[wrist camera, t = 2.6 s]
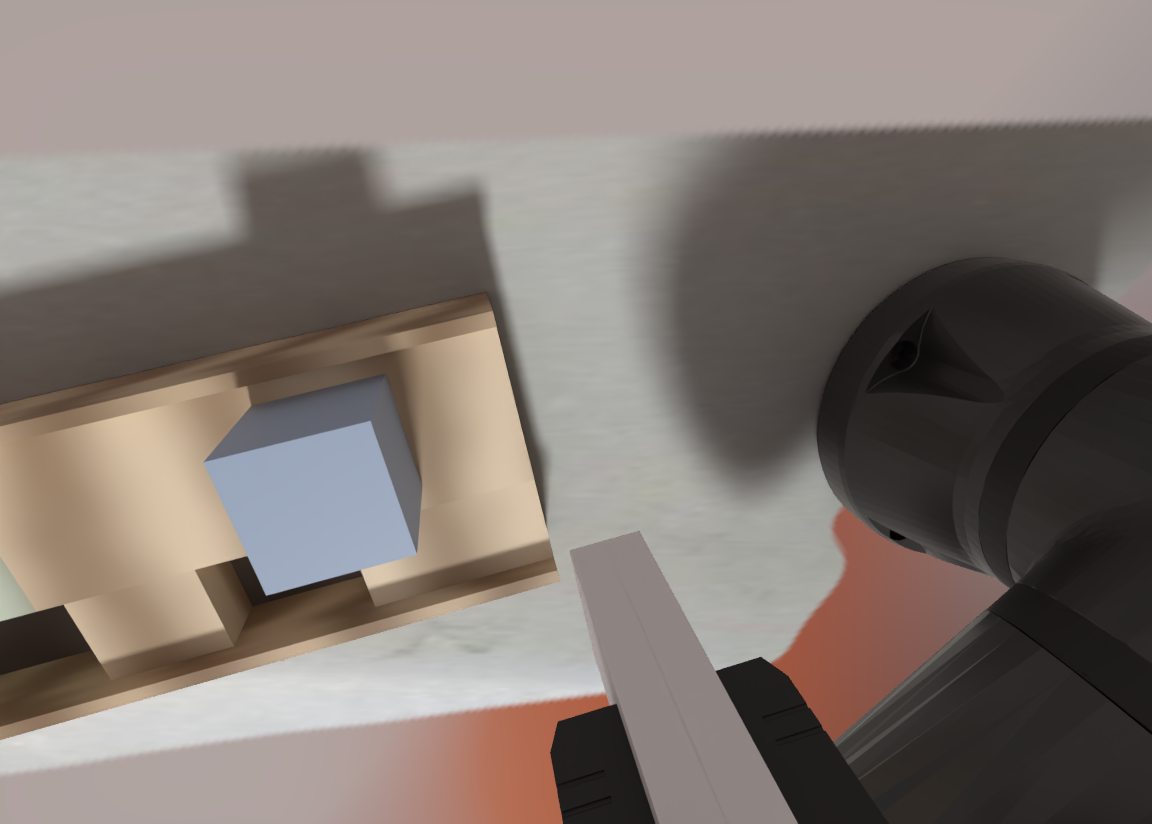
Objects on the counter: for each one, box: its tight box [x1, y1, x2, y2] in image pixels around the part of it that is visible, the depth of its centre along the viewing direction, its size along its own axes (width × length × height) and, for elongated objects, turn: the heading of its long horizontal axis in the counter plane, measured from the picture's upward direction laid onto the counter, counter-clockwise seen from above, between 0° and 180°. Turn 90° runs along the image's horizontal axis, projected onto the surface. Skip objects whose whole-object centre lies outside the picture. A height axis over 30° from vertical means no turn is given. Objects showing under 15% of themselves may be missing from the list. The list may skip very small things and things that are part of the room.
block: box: [203, 374, 422, 596], centre depth 22 cm, size 5×5×5 cm
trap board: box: [0, 292, 560, 740], centre depth 24 cm, size 30×12×8 cm, turn 101°
